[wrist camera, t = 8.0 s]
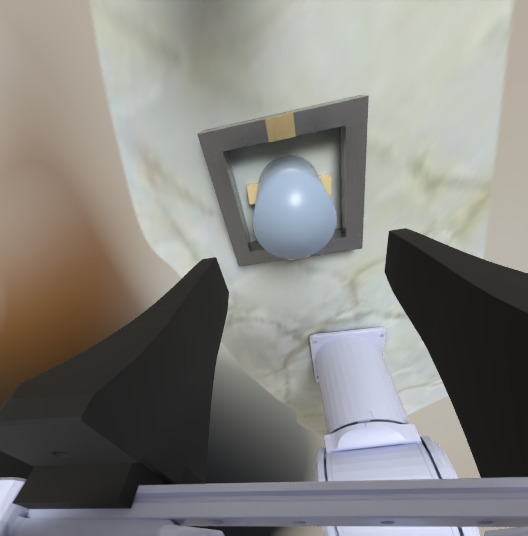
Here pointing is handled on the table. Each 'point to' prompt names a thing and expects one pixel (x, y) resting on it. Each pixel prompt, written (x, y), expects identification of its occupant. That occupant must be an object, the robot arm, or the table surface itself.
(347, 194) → the collar
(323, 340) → the robot arm
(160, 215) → the table surface
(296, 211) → the blue-grey rounded tapered piece
